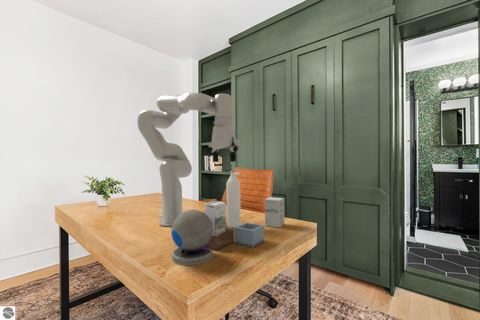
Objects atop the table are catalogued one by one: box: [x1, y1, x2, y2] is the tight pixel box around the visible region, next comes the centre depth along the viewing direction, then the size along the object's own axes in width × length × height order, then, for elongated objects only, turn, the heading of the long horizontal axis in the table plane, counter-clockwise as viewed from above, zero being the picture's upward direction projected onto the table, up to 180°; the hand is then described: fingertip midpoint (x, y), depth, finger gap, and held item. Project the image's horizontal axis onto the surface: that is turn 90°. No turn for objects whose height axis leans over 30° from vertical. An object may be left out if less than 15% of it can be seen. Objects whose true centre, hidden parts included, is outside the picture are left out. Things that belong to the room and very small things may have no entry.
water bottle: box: [225, 171, 242, 229], centre depth 111 cm, size 9×6×25 cm
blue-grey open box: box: [234, 222, 265, 249], centre depth 88 cm, size 8×8×6 cm
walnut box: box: [205, 227, 235, 252], centre depth 87 cm, size 10×10×5 cm
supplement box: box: [264, 196, 285, 229], centre depth 110 cm, size 7×7×13 cm
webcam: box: [170, 209, 214, 266], centre depth 76 cm, size 13×13×15 cm
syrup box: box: [204, 200, 227, 235], centre depth 87 cm, size 6×6×14 cm
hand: (224, 161), depth 103 cm, fingers open, 9 cm apart
